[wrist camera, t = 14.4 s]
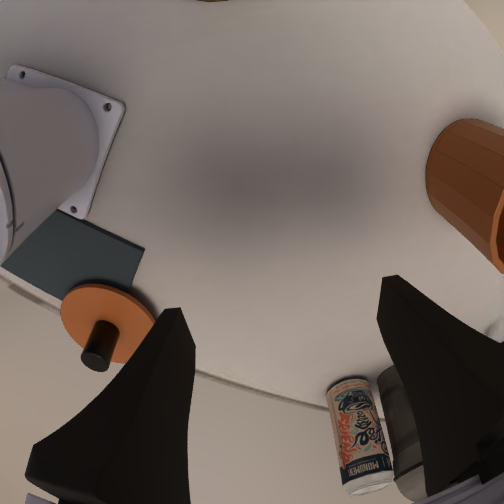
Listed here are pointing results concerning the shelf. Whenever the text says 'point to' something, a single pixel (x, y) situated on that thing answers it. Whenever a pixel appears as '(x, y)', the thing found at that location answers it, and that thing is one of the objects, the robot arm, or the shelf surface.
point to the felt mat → (73, 256)
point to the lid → (104, 324)
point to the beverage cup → (402, 436)
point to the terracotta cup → (470, 184)
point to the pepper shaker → (212, 0)
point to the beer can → (359, 438)
